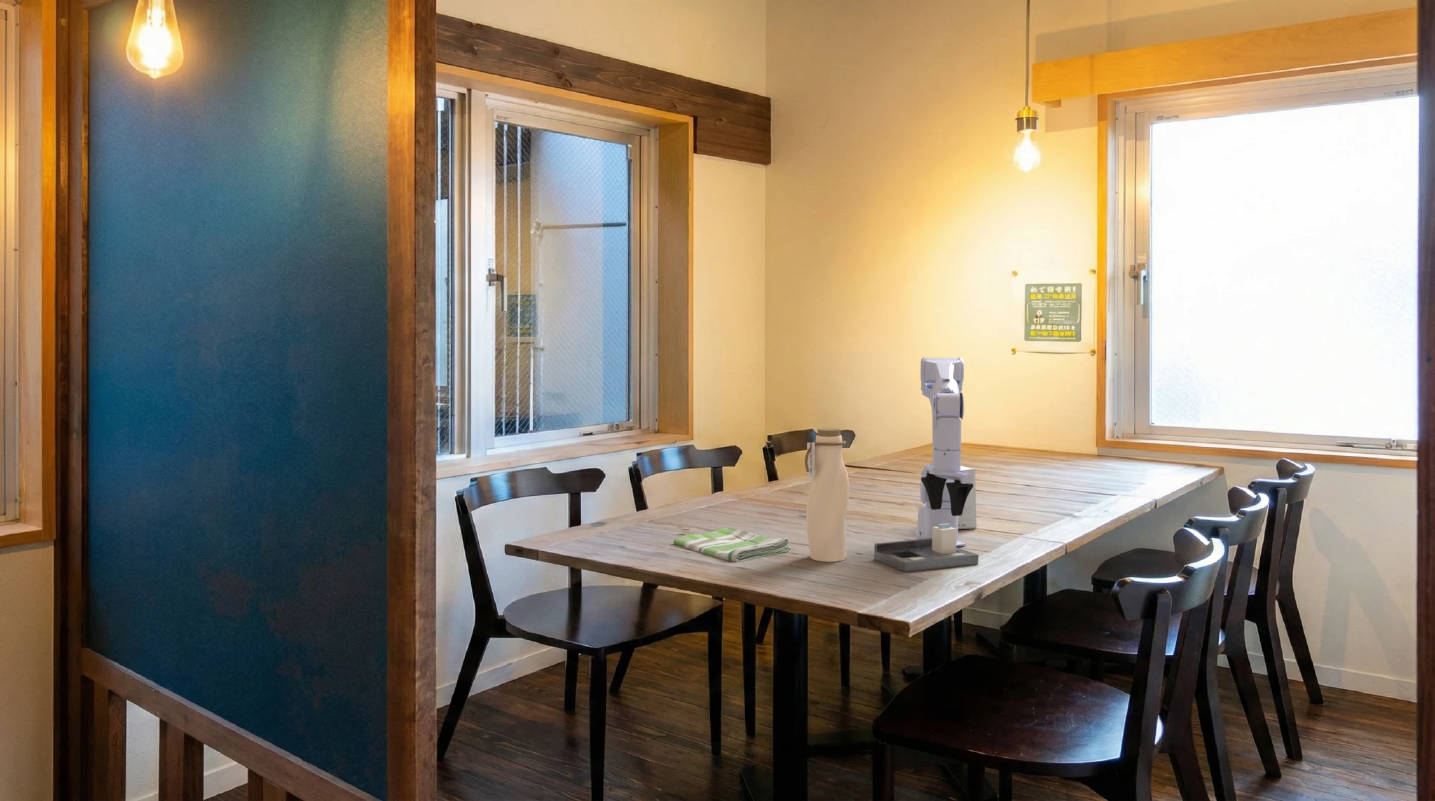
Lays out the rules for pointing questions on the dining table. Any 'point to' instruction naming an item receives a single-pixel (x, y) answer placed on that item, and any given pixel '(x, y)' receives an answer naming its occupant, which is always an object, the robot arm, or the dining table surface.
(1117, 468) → the dining table surface
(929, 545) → the port panel
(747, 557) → the dish towel
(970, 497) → the skincare box
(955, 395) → the robot arm
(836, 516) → the water bottle
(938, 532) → the plug
